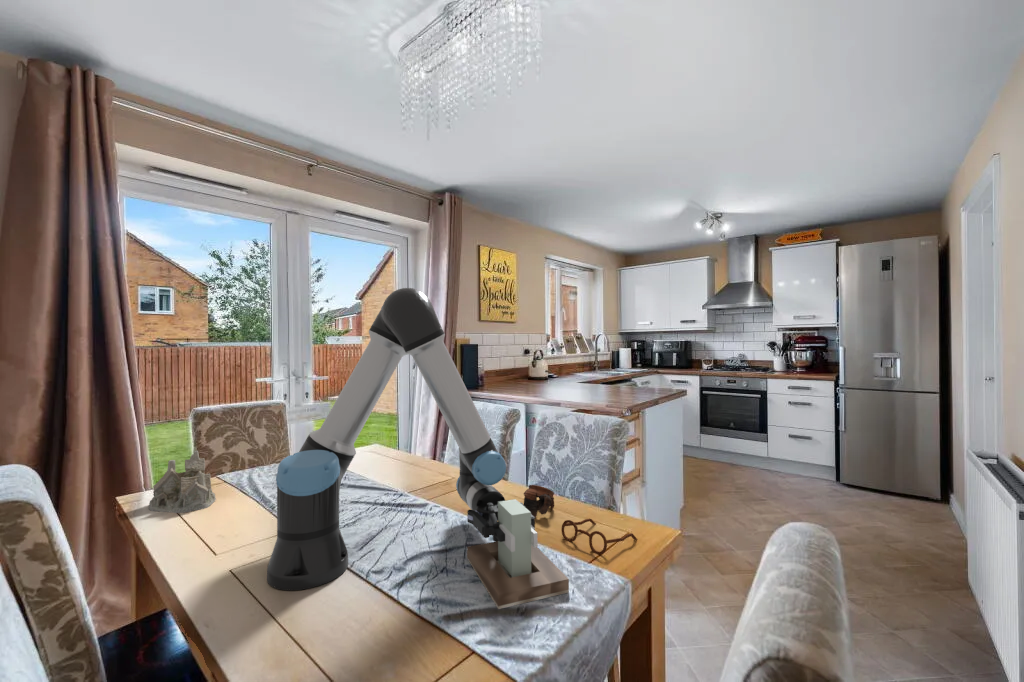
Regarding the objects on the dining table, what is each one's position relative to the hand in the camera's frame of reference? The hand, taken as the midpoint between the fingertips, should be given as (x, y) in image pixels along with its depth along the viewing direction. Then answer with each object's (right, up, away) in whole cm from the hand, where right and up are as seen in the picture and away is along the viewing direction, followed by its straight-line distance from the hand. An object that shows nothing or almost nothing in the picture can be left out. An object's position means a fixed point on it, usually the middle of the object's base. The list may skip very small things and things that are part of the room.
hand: (524, 542), depth 85 cm
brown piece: (+5, -9, +38) cm, 39 cm away
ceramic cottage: (-99, -10, +45) cm, 109 cm away
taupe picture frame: (-2, -9, +5) cm, 10 cm away
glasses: (+19, -9, +21) cm, 30 cm away
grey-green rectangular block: (-2, -7, +5) cm, 9 cm away
